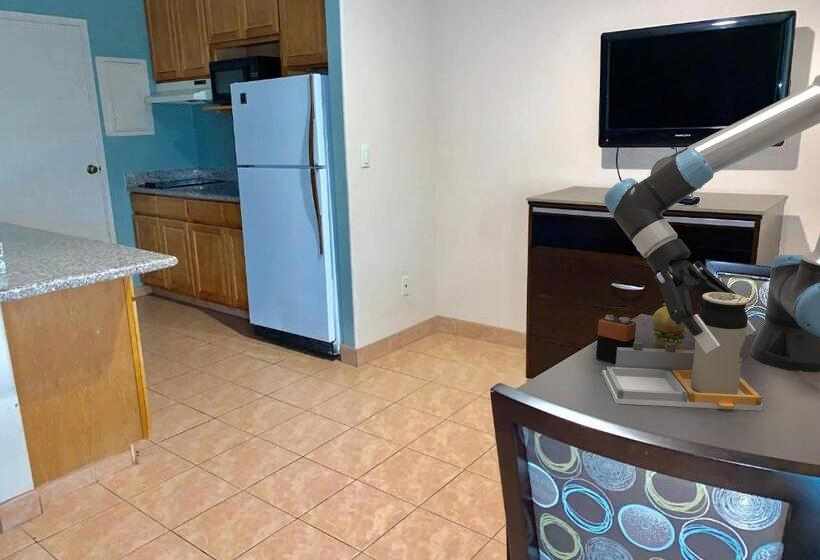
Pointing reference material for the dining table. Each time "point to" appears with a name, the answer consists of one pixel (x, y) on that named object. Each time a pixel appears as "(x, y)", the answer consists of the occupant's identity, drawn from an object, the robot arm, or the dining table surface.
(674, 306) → the robot arm
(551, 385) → the dining table surface
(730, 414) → the dining table surface
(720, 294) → the travel mug
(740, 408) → the grey orange flat box
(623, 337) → the battery
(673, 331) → the hamburger
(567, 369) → the dining table surface
